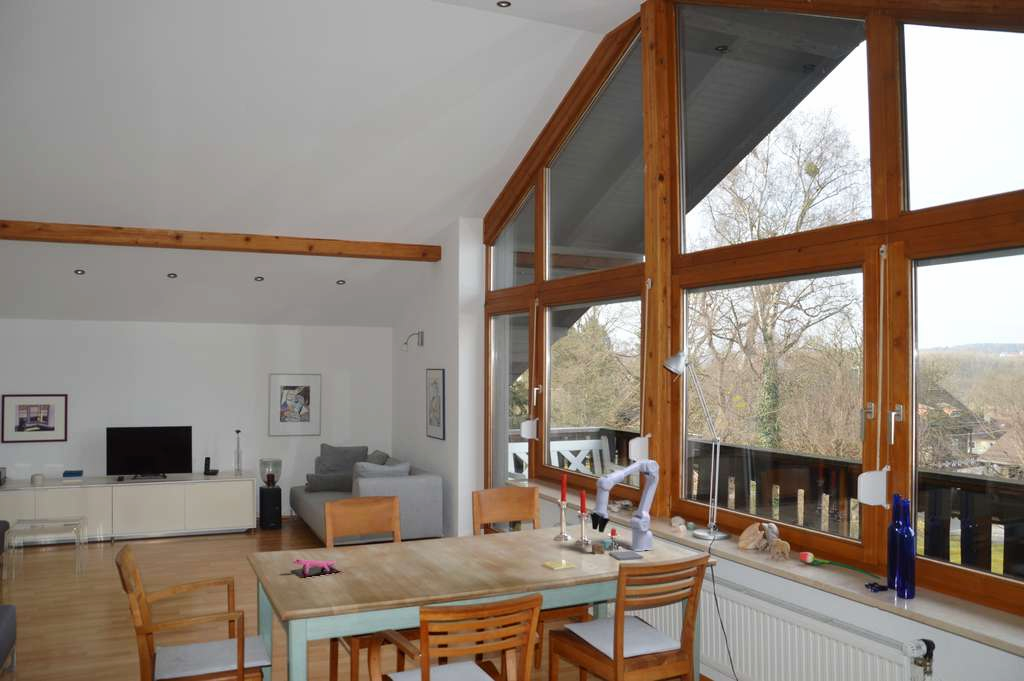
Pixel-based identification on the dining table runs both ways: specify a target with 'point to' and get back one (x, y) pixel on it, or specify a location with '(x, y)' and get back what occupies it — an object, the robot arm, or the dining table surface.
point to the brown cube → (597, 549)
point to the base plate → (625, 555)
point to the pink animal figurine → (314, 568)
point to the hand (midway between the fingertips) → (597, 530)
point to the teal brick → (607, 543)
